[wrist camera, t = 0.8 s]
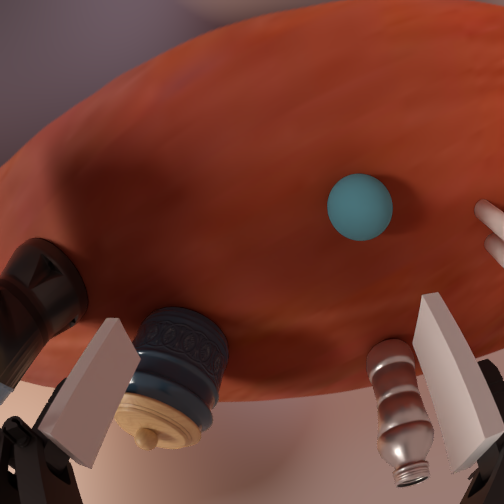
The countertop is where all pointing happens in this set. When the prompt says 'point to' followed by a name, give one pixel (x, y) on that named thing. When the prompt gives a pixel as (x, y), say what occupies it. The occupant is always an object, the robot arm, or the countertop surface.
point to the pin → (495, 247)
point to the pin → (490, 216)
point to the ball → (359, 207)
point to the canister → (173, 379)
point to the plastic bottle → (400, 412)
